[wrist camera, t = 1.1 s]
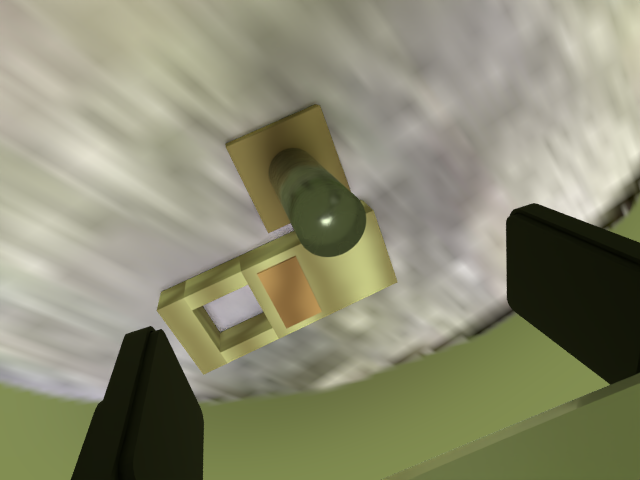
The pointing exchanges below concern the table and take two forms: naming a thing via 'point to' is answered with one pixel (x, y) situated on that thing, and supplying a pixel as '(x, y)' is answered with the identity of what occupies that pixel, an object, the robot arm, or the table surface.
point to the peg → (316, 204)
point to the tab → (267, 142)
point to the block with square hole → (274, 293)
